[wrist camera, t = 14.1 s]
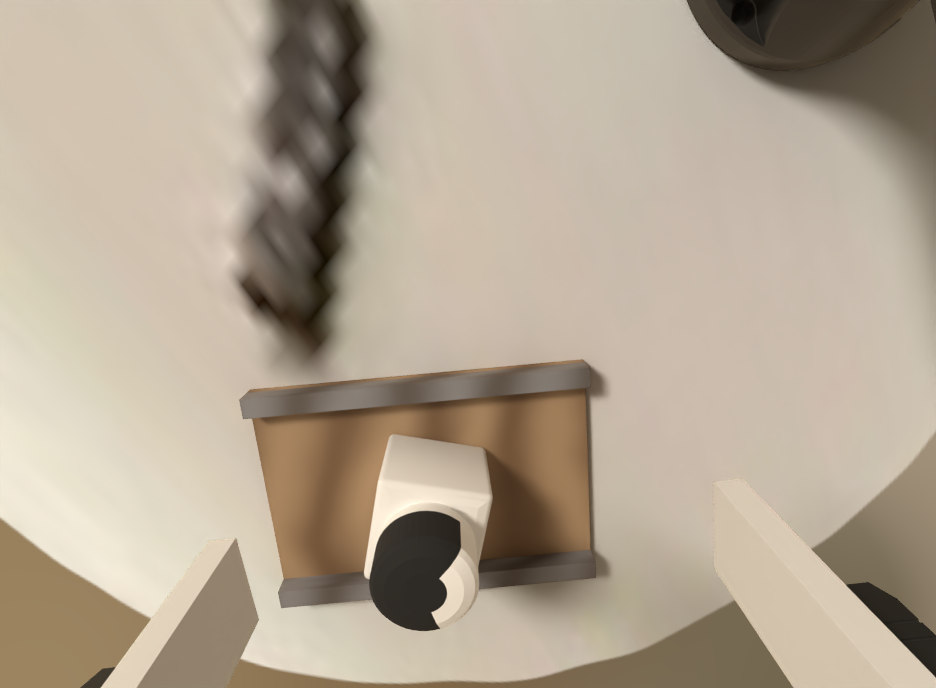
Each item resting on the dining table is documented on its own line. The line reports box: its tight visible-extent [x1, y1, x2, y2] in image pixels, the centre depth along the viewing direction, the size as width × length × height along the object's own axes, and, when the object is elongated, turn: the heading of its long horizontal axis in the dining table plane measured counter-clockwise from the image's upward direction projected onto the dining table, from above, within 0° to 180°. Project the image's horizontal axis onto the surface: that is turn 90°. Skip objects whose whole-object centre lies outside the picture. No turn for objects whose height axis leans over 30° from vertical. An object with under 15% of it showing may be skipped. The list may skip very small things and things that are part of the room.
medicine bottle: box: [364, 434, 493, 631], centre depth 35 cm, size 7×7×12 cm
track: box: [239, 360, 596, 608], centre depth 41 cm, size 24×17×2 cm
